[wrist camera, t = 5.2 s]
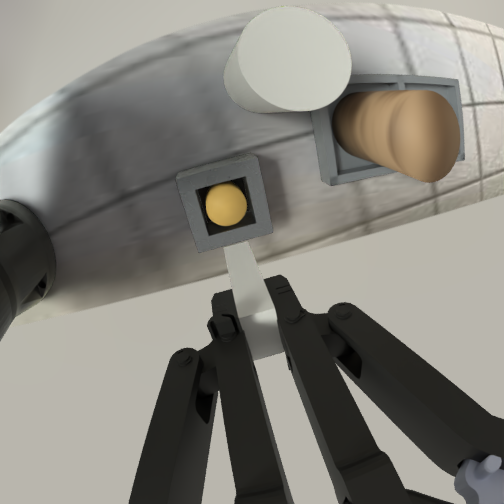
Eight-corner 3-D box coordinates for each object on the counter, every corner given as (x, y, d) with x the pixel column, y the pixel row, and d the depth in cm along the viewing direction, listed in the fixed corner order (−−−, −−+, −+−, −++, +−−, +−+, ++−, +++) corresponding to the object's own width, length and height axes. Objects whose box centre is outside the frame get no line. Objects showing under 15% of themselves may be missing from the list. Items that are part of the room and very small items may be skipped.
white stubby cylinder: (310, 65, 26) (367, 45, 16) (278, 125, 29) (322, 131, 19) (244, 32, 24) (270, -12, 13) (210, 93, 26) (215, 78, 16)
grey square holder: (198, 237, 33) (198, 253, 30) (178, 172, 30) (175, 179, 26) (265, 219, 34) (273, 232, 30) (250, 152, 30) (257, 157, 26)
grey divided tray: (321, 180, 33) (330, 186, 30) (303, 80, 27) (312, 77, 25) (452, 156, 34) (464, 160, 32) (445, 79, 28) (458, 79, 26)
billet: (337, 162, 31) (400, 189, 21) (326, 94, 27) (390, 89, 17) (392, 153, 32) (460, 176, 21) (384, 90, 28) (456, 91, 17)
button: (210, 220, 32) (212, 230, 29) (201, 186, 30) (201, 193, 27) (246, 210, 32) (250, 220, 29) (237, 176, 30) (241, 182, 27)
